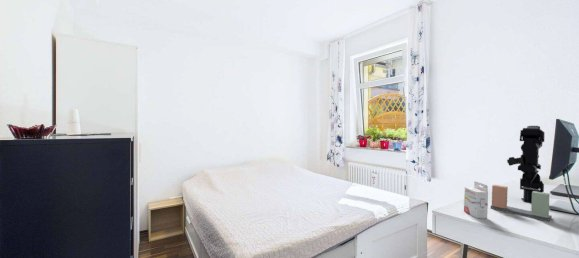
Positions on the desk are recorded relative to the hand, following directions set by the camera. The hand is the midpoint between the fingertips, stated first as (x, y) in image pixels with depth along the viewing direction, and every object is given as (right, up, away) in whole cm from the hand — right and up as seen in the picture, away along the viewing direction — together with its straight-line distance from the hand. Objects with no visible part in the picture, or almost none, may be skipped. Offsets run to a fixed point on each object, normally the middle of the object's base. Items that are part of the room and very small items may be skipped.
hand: (528, 184), depth 122 cm
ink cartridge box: (-35, -12, -11) cm, 39 cm away
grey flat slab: (-12, -12, -8) cm, 18 cm away
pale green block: (-9, -11, -14) cm, 20 cm away
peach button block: (-17, -10, -3) cm, 20 cm away
